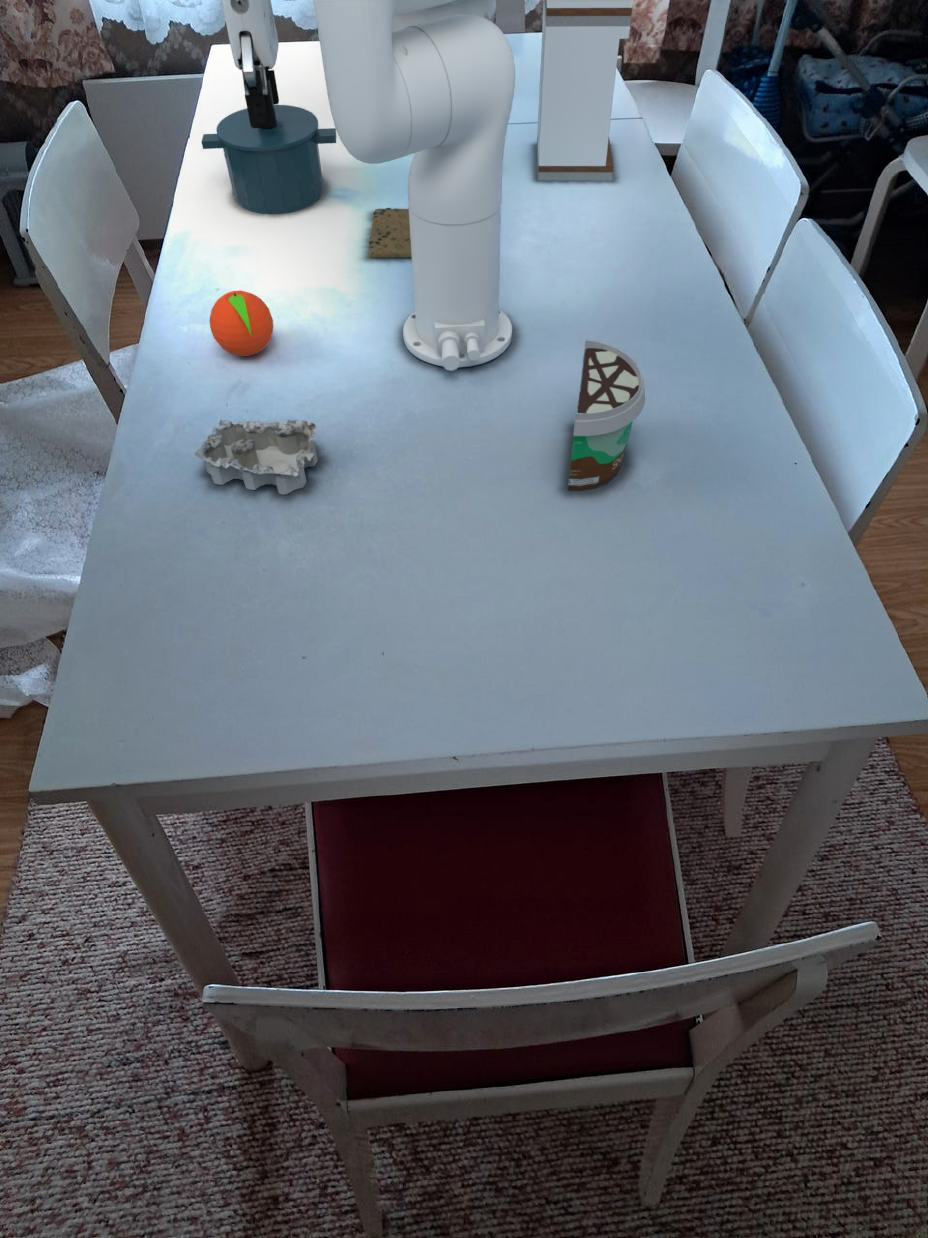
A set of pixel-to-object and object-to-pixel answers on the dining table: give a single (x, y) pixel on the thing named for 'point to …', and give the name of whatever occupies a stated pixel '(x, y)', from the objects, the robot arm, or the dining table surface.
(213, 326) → the clementine
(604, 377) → the food container
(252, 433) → the egg carton
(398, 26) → the soup tureen
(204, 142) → the pot
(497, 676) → the dining table surface
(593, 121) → the striped white pillar
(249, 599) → the dining table surface
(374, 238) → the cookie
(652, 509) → the dining table surface
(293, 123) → the pot lid
